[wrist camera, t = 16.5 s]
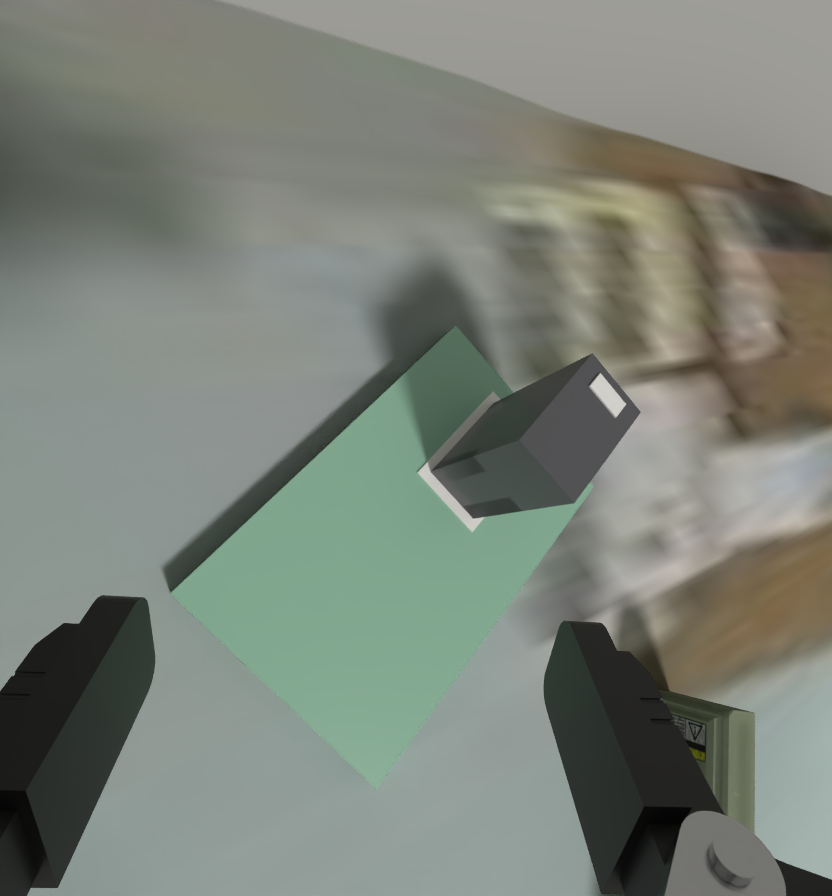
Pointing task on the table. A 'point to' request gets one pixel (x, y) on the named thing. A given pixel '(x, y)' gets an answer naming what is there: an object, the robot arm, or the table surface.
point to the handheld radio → (720, 750)
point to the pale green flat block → (375, 567)
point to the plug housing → (539, 443)
